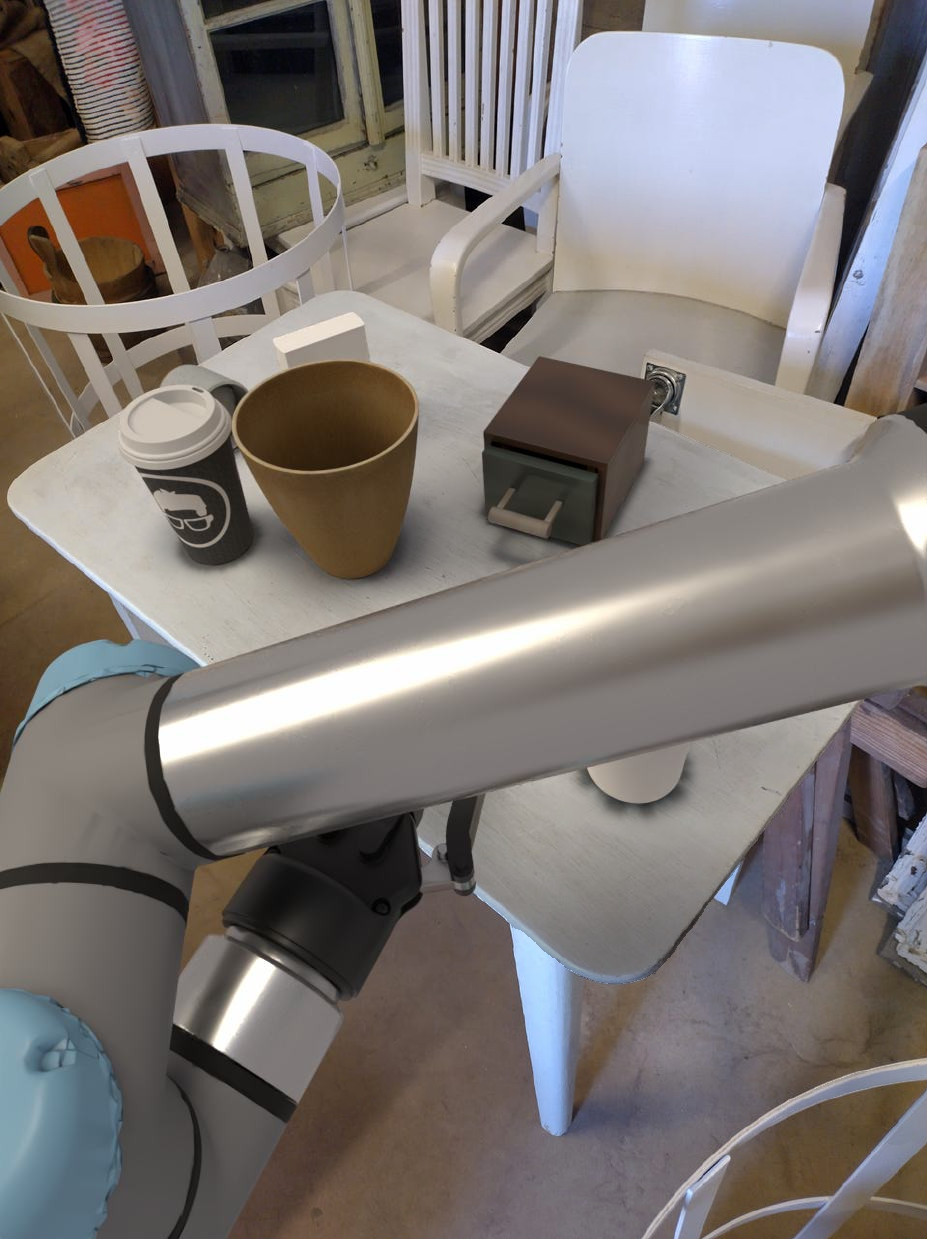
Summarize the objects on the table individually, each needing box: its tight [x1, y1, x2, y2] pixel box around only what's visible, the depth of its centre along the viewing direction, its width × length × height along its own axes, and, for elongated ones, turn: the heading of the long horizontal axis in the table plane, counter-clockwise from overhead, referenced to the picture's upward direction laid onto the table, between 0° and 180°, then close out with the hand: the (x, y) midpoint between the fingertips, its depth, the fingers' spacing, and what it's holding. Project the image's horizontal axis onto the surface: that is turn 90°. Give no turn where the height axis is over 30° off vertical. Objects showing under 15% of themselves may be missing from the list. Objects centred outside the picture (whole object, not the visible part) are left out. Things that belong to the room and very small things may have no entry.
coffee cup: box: [117, 385, 254, 566], centre depth 73 cm, size 10×10×15 cm
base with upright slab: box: [272, 311, 371, 372], centre depth 84 cm, size 9×9×12 cm
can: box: [586, 742, 692, 804], centre depth 56 cm, size 7×7×12 cm
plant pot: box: [232, 359, 420, 580], centre depth 71 cm, size 15×15×16 cm
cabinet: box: [482, 355, 656, 543], centre depth 77 cm, size 13×12×10 cm
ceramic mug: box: [158, 364, 250, 450], centre depth 86 cm, size 11×8×8 cm
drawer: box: [481, 443, 598, 546], centre depth 75 cm, size 16×10×8 cm, turn 154°
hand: (496, 612), depth 51 cm, fingers closed
